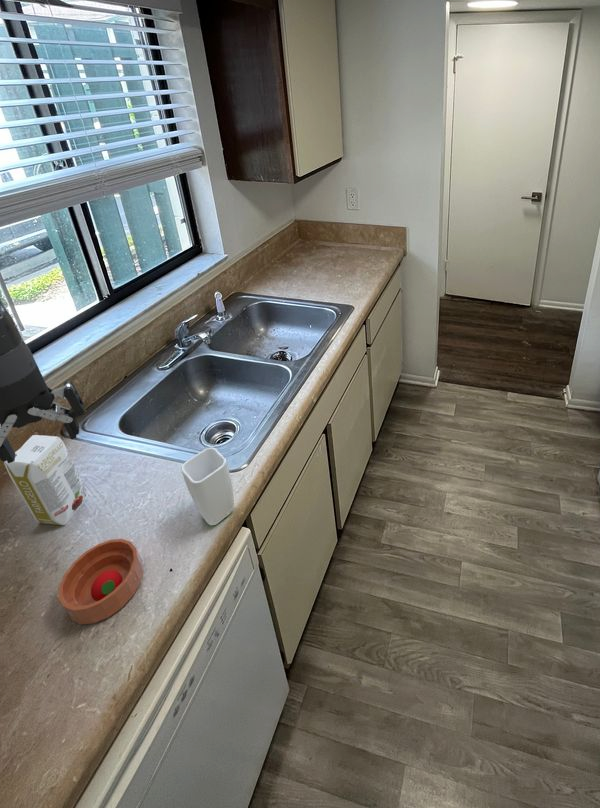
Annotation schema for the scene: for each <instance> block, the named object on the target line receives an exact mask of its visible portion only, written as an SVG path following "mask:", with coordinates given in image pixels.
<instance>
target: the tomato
mask: <svg viewBox="0 0 600 808" xmlns="http://www.w3.org/2000/svg"><path fill="white" fill-rule="evenodd" d="M122 582H123V580H122V576H121V574H120V573H119V572H118V571H115V570H109V571H105V572H103V573H102V574H100V575H99V576H98V577H97V578H96V579H95V581H94V582H93V584H92V587H91V596H92V598H93V599H94V600H95V601H99V600H101V599H103V598H104V597H106V596H107V595H108V594H110V593H111V592H113V591H114V590H115V589H116V588H117V587H118V586H119V585H120V584H121V583H122Z"/></svg>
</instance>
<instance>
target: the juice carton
mask: <svg viewBox="0 0 600 808" xmlns="http://www.w3.org/2000/svg"><path fill="white" fill-rule="evenodd" d="M14 452H15V461H14V462H11V463H8V462H7V461H5V462H3V464H4V468H5V469H6V471H7V474H8V476H9V478H10V480H11V481H12V483H13V484H14V486H15V488H16V490H17V492H18V493H19V495H20V497H21V498H22V500H23V502H24V503H25V505H26V507H27V508H28V511H29V512H30V514H31V515H32V518H33V519H34V520H35V521H36V522H37V523H38V524H44V525H54V526H66V525H67V524H68V523H69V522H70V520H71V519H72V518H73V517H74V515H75V514H76V513H77V512H78V510H79V509H80V508H81V507H82V506H83V505H84V504H85V502H86V501H87V500H88V498H89V494H88V492H87V489H86V487H85V484H84V482H83V479H82V477H81V476H80V473H79V472H78V469H77V468H76V465H75V463H74V461H73V459H72V457H71V455H70V453H69V451H68V448H67V447H66V445H65V443H64V441H63V440H62V439H61V437H60V436H55V435H43V434H42V435H40V434H39V435H38V434H32V435H31V436H30V437H29V438H28V439H27V440H26V441H25V442H24V444H23V445H22V446H21V447H20V448H19V449H18V450H16V451H14Z"/></svg>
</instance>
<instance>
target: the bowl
mask: <svg viewBox="0 0 600 808" xmlns="http://www.w3.org/2000/svg"><path fill="white" fill-rule="evenodd" d="M109 570H115V571H118V572H119V573H120V574H121V576H122V580H123V582H122V583H121V584H120V585H119V586H118V587H117V588H116V589H115V590H114V591H113V592H111V593H110V594H108V595H107V596H106V597H104V598H103V599H101V600H99V601H95V600H94V599H93V598H92V596H91V587H92V584H93V582H94V581H95V579H96V578H97V577H98V576H99V575H100V574H102V573H103V572H105V571H109ZM144 572H145V571H144V562H143V560H142V558H141V555H140V554H139V551H138V549H137V547H136V546H135V545H134V544H133V542H132V541H130V540H126V539H124V538H115V539H109V540H107V541H103V542H100V543H98V544H96V545H94V546H93V547H91V548H89V549H87V550H86V551H84V552H83V554H81V555H80V556H79V557H78V558H77V559H76V560H75V561H73V562H72V564H71V565H70V566H69V568H68V569H67V570H66V571H65V573H64V574H63V575H62V579H61V581H60V584H59V586H58V595H57V597H58V598H57V599H58V600H59V602H60V604H61V607H63V609H64V610H65V612H66V614H67V616H68V617H69V619H70V620H71V622H74V623H77V624H80V625H91V624H97V623H98V622H101V621H103V620H105V619H108V618H109V617H111V616H112V615H114V614H115V613H117V612H118V611H119V610H121V609H122V608H123V607H124V606H125V605H126V604H127V603H128V602H129V601H130V600H131V599H132V598H133V597H134V595H135V593H136V592H137V590H138V588H139V587H140V585H141V583H142V579H143V576H144Z"/></svg>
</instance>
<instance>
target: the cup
mask: <svg viewBox="0 0 600 808" xmlns="http://www.w3.org/2000/svg"><path fill="white" fill-rule="evenodd" d="M229 469H230V468H229V466H228V462H227V459H226V457H224V455H222V454H221V452H220V451H219V450H217V448H215V447H212V446H211V447H207V448H205V449H203V450H201V451H200V452H198V453H196V454H195V455H194V456H192V457H191V458H189V459H187V460H186V461H185V462H184V463H182V465H181V467H180V471H181V473H182V477H183V479H184V482H185V486H186V488H187V490H188V492H189V494H190V497H191V499H192V502H193V503H194V505H195V507H196V509H197V510H198V512H199V514H200V516H201V517H202V518H203V519H204V521H205V522H206V523H207V524H208V525H209V526H216V525H218V524H219V523H220V522H221V521H222V520H224V519H225V518H226V517H228V516H229V515H230V514H232V513H233V512H234V510H235V497H234V488H233V487H234V486H233V482H232V477H231V473H230V470H229Z"/></svg>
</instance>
